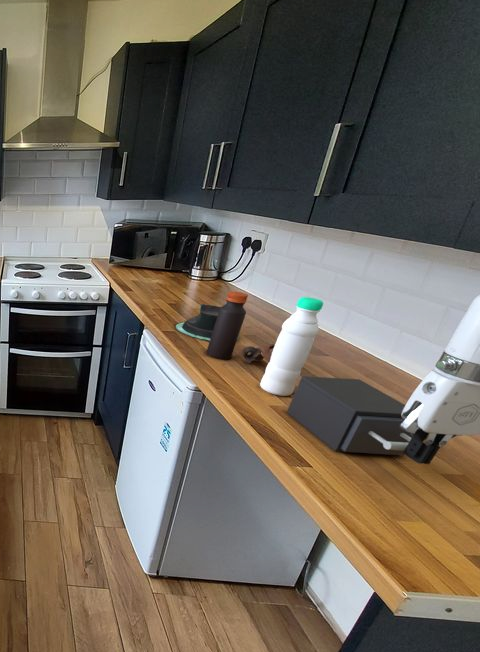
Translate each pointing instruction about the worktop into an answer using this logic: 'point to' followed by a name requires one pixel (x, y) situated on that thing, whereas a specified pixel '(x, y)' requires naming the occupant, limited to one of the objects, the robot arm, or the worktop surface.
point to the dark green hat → (201, 323)
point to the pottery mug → (257, 353)
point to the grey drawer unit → (338, 406)
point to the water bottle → (292, 348)
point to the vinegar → (227, 326)
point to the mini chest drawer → (377, 436)
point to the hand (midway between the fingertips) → (415, 458)
